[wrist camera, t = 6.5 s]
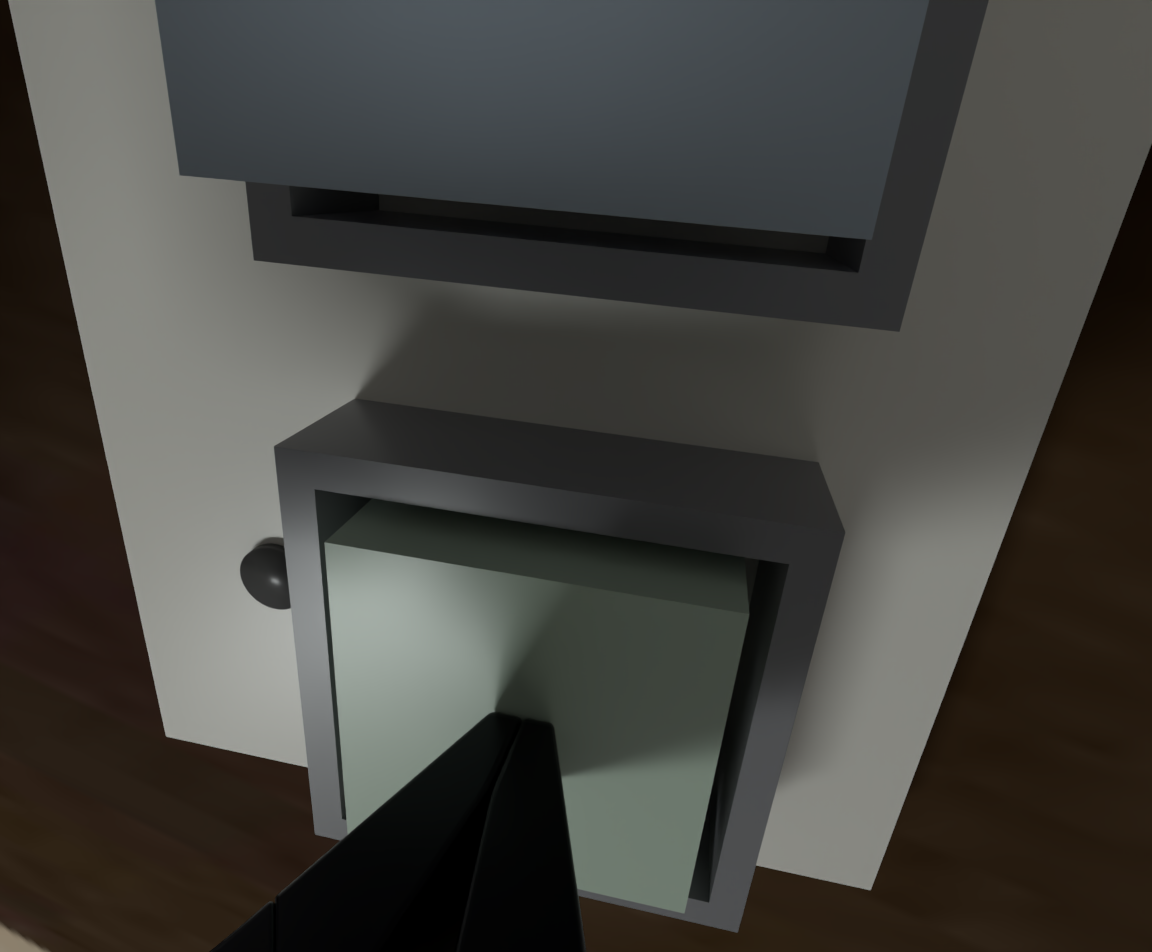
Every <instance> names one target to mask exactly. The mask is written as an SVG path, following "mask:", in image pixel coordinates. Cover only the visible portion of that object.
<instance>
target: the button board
mask: <svg viewBox="0 0 1152 952" xmlns="http://www.w3.org/2000/svg"><path fill="white" fill-rule="evenodd" d="M8 2H9V6H10V11H11V16H12V20H13V25H14V30H15V34H16V39H17V44H18V48H19V53H20V58H21V62H22V67H23V72H24V76H25V81H26V86H27V90H28V95H29V100H30V104H31V109H32V114H33V118H34V123H35V128H36V132H37V137H38V142H39V146H40V151H41V156H42V160H43V165H44V170H45V174H46V179H47V184H48V188H49V193H50V198H51V202H52V207H53V212H54V216H55V221H56V226H57V230H58V235H59V240H60V244H61V249H62V254H63V258H64V263H65V268H66V272H67V277H68V282H69V286H70V291H71V296H72V300H73V305H74V310H75V314H76V319H77V323H78V328H79V333H80V337H81V342H82V347H83V351H84V356H85V361H86V365H87V370H88V375H89V379H90V384H91V389H92V393H93V398H94V403H95V407H96V412H97V417H98V421H99V426H100V431H101V435H102V440H103V445H104V449H105V454H106V459H107V463H108V468H109V473H110V477H111V482H112V487H113V491H114V496H115V501H116V505H117V510H118V515H119V519H120V524H121V529H122V533H123V538H124V543H125V547H126V552H127V557H128V561H129V566H130V571H131V575H132V580H133V585H134V589H135V594H136V599H137V603H138V608H139V613H140V617H141V622H142V627H143V631H144V636H145V641H146V645H147V650H148V655H149V659H150V664H151V669H152V673H153V678H154V683H155V687H156V692H157V697H158V701H159V706H160V711H161V715H162V720H163V725H164V729H165V734H166V737H171V738H176V739H180V740H185V741H189V742H194V743H199V744H203V745H208V746H212V747H217V748H221V749H226V750H231V751H235V752H240V753H244V754H249V755H253V756H258V757H263V758H267V759H272V760H276V761H281V762H286V763H290V764H295V765H299V766H304V767H308V772H309V782H310V791H311V800H312V810H313V819H314V828H315V834H316V835H320V836H324V837H328V838H333V839H337V840H342V839H343V838H344V837H345V836H347V835H348V832H347V820H346V807H345V795H344V782H343V770H342V757H341V745H340V732H339V720H338V707H337V695H336V682H335V669H334V657H333V644H332V632H331V619H330V607H329V594H328V582H327V569H326V557H325V544H324V542H325V541H326V540H327V539H329V538H330V537H331V536H332V535H333V534H334V533H335V532H336V531H337V530H338V529H340V528H341V527H342V526H343V525H344V524H345V523H346V522H347V521H348V520H349V519H350V518H352V517H353V516H354V515H355V514H356V513H357V512H358V511H359V510H360V509H361V508H363V507H364V506H365V505H366V504H367V503H368V502H369V501H370V500H371V499H372V498H373V499H380V500H386V501H392V502H399V503H405V504H411V505H418V506H424V507H430V508H437V509H443V510H449V511H456V512H462V513H468V514H474V515H481V516H487V517H493V518H500V519H506V520H512V521H519V522H525V523H531V524H538V525H544V526H550V527H557V528H563V529H569V530H576V531H582V532H588V533H595V534H601V535H607V536H613V537H620V538H626V539H632V540H639V541H645V542H651V543H658V544H664V545H670V546H677V547H683V548H689V549H696V550H702V551H708V552H715V553H721V554H727V555H734V556H740V557H745V567H746V579H747V591H748V603H749V619H748V623H747V628H746V632H745V637H744V642H743V646H742V651H741V656H740V660H739V665H738V669H737V674H736V679H735V683H734V688H733V692H732V697H731V702H730V706H729V711H728V715H727V720H726V725H725V729H724V734H723V738H722V743H721V748H720V752H719V757H718V761H717V766H716V771H715V775H714V780H713V785H712V789H711V794H710V798H709V803H708V808H707V812H706V817H705V821H704V826H703V831H702V835H701V840H700V844H699V849H698V854H697V858H696V863H695V867H694V872H693V877H692V881H691V886H690V890H689V895H688V900H687V904H686V909H685V913H679V912H675V911H671V910H666V909H662V908H658V907H653V906H649V905H645V904H640V903H636V902H632V901H627V900H623V899H619V898H614V897H610V896H606V895H601V894H597V893H593V892H589V891H584V890H580V889H577V890H578V896H582V897H587V898H591V899H595V900H600V901H604V902H608V903H612V904H617V905H621V906H625V907H630V908H634V909H638V910H643V911H647V912H651V913H655V914H660V915H664V916H668V917H673V918H677V919H681V920H686V921H690V922H694V923H698V924H703V925H707V926H711V927H716V928H720V929H724V930H729V931H733V932H737V933H738V929H739V926H740V922H741V918H742V915H743V911H744V907H745V903H746V900H747V896H748V892H749V889H750V885H751V881H752V877H753V874H754V870H755V866H756V865H757V866H762V867H766V868H771V869H776V870H780V871H785V872H789V873H794V874H798V875H803V876H808V877H812V878H817V879H821V880H826V881H831V882H835V883H840V884H844V885H849V886H853V887H858V888H863V889H867V890H871V888H872V885H873V883H874V880H875V877H876V875H877V872H878V869H879V867H880V864H881V861H882V859H883V856H884V853H885V851H886V848H887V845H888V843H889V840H890V837H891V835H892V832H893V830H894V827H895V824H896V822H897V819H898V816H899V814H900V811H901V808H902V806H903V803H904V800H905V798H906V795H907V792H908V790H909V787H910V784H911V782H912V779H913V776H914V774H915V771H916V768H917V766H918V763H919V760H920V758H921V755H922V752H923V750H924V747H925V745H926V742H927V739H928V737H929V734H930V731H931V729H932V726H933V723H934V721H935V718H936V715H937V713H938V710H939V707H940V705H941V702H942V699H943V697H944V694H945V691H946V689H947V686H948V683H949V681H950V678H951V675H952V673H953V670H954V667H955V665H956V662H957V660H958V657H959V654H960V652H961V649H962V646H963V644H964V641H965V638H966V636H967V633H968V630H969V628H970V625H971V622H972V620H973V617H974V614H975V612H976V609H977V606H978V604H979V601H980V598H981V596H982V593H983V590H984V588H985V585H986V582H987V580H988V577H989V574H990V572H991V569H992V567H993V564H994V561H995V559H996V556H997V553H998V551H999V548H1000V545H1001V543H1002V540H1003V537H1004V535H1005V532H1006V529H1007V527H1008V524H1009V521H1010V519H1011V516H1012V513H1013V511H1014V508H1015V505H1016V503H1017V500H1018V497H1019V495H1020V492H1021V489H1022V487H1023V484H1024V482H1025V479H1026V476H1027V474H1028V471H1029V468H1030V466H1031V463H1032V460H1033V458H1034V455H1035V452H1036V450H1037V447H1038V444H1039V442H1040V439H1041V436H1042V434H1043V431H1044V428H1045V426H1046V423H1047V420H1048V418H1049V415H1050V412H1051V410H1052V407H1053V404H1054V402H1055V399H1056V397H1057V394H1058V391H1059V389H1060V386H1061V383H1062V381H1063V378H1064V375H1065V373H1066V370H1067V367H1068V365H1069V362H1070V359H1071V357H1072V354H1073V351H1074V349H1075V346H1076V343H1077V341H1078V338H1079V335H1080V333H1081V330H1082V327H1083V325H1084V322H1085V319H1086V317H1087V314H1088V311H1089V309H1090V306H1091V304H1092V301H1093V298H1094V296H1095V293H1096V290H1097V288H1098V285H1099V282H1100V280H1101V277H1102V274H1103V272H1104V269H1105V266H1106V264H1107V261H1108V258H1109V256H1110V253H1111V250H1112V248H1113V245H1114V242H1115V240H1116V237H1117V234H1118V232H1119V229H1120V226H1121V224H1122V221H1123V219H1124V216H1125V213H1126V211H1127V208H1128V205H1129V203H1130V200H1131V197H1132V195H1133V192H1134V189H1135V187H1136V184H1137V181H1138V179H1139V176H1140V173H1141V171H1142V168H1143V165H1144V163H1145V160H1146V157H1147V155H1148V152H1149V149H1150V147H1151V144H1152V0H929V3H928V8H927V12H926V16H925V20H924V24H923V28H922V33H921V37H920V41H919V45H918V49H917V53H916V58H915V62H914V66H913V70H912V74H911V78H910V83H909V87H908V91H907V95H906V99H905V103H904V108H903V112H902V116H901V120H900V124H899V128H898V133H897V137H896V141H895V145H894V149H893V153H892V158H891V162H890V166H889V170H888V174H887V178H886V183H885V187H884V191H883V195H882V199H881V203H880V208H879V212H878V216H877V220H876V224H875V228H874V233H873V237H872V240H866V239H855V238H845V237H834V236H823V235H813V234H802V233H791V232H781V231H770V230H759V229H749V228H738V227H727V226H716V225H706V224H695V223H684V222H674V221H663V220H652V219H642V218H631V217H620V216H609V215H599V214H588V213H577V212H567V211H556V210H545V209H535V208H524V207H513V206H503V205H492V204H481V203H470V202H460V201H449V200H438V199H428V198H417V197H406V196H396V195H385V194H374V193H363V192H353V191H342V190H331V189H321V188H310V187H299V186H289V185H278V184H267V183H256V182H246V181H235V180H224V179H214V178H203V177H192V176H182V175H180V174H179V167H178V160H177V153H176V146H175V139H174V132H173V125H172V118H171V111H170V104H169V97H168V90H167V82H166V75H165V68H164V61H163V54H162V47H161V40H160V33H159V26H158V19H157V12H156V5H155V0H8Z"/></svg>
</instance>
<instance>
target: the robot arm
mask: <svg viewBox="0 0 1152 952" xmlns="http://www.w3.org/2000/svg"><path fill="white" fill-rule="evenodd" d="M210 952H586V947H585V940H584V932H583V925H582V918H581V911H580V904H579V897H578V890H577V883H576V876H575V869H574V862H573V855H572V848H571V841H570V834H569V827H568V820H567V813H566V806H565V798H564V791H563V784H562V777H561V770H560V763H559V756H558V749H557V742H556V735H555V728H554V726H553V724H552V723H549V722H545V721H540V720H535V719H530V718H526V719H524V720H523V721H521V719H520V718H519V717H518V716H514V715H509V714H504V713H499V712H491V713H489V714H488V715H486V716H485V717H484V718H483V719H482V720H480V721H479V722H478V723H477V724H476V725H475V726H473V727H472V728H471V729H470V730H469V731H468V732H466V733H465V734H464V735H463V736H462V737H461V738H459V739H458V740H457V741H456V742H455V743H454V744H453V745H451V746H450V747H449V748H448V749H447V750H446V751H444V752H443V753H442V754H441V755H440V756H439V757H437V758H436V759H435V760H434V761H433V762H432V763H430V764H429V765H428V766H427V767H426V768H425V769H423V770H422V771H421V772H420V773H419V774H418V775H416V776H415V777H414V778H413V779H412V780H411V781H409V782H408V783H407V784H406V785H405V786H404V787H402V788H401V789H400V790H399V791H398V792H397V793H395V794H394V795H393V796H392V797H391V798H390V799H388V800H387V801H386V802H385V803H384V804H383V805H381V806H380V807H379V808H378V809H377V810H376V811H374V812H373V813H372V814H371V815H370V816H369V817H368V818H366V819H365V820H364V821H363V822H362V823H361V824H359V825H358V826H357V827H356V828H355V829H354V830H352V831H351V832H350V833H349V834H348V835H347V836H345V837H344V838H343V839H342V840H341V841H340V842H338V843H337V844H336V845H335V846H334V847H333V848H331V849H330V850H329V851H328V852H327V853H326V854H324V855H323V856H322V857H321V858H320V859H319V860H317V861H316V862H315V863H314V864H313V865H312V866H310V867H309V868H308V869H307V870H306V871H305V872H303V873H302V874H301V875H300V876H299V877H298V878H296V879H295V880H294V881H293V882H292V883H291V884H289V885H288V886H287V887H286V888H285V889H284V890H283V891H281V892H280V893H279V894H278V895H277V896H276V897H275V904H274V903H273V902H268V903H267V904H266V905H265V906H263V907H262V908H261V909H260V910H259V911H258V912H256V913H255V914H254V915H253V916H252V917H251V918H249V919H248V920H247V921H246V922H245V923H244V924H242V925H241V926H240V927H239V928H238V929H237V930H235V931H234V932H233V933H232V934H230V935H229V936H228V937H227V938H226V939H224V940H223V941H222V942H221V943H219V944H218V945H217V946H216V947H215V948H213V949H212V950H211V951H210Z"/></svg>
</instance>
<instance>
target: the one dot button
mask: <svg viewBox="0 0 1152 952" xmlns="http://www.w3.org/2000/svg"><path fill="white" fill-rule="evenodd" d="M324 544H325V557H326V569H327V582H328V594H329V607H330V619H331V632H332V644H333V657H334V669H335V682H336V695H337V707H338V720H339V732H340V745H341V757H342V770H343V782H344V795H345V807H346V820H347V832H348V834H349V833H350V832H351V831H352V830H354V829H355V828H356V827H357V826H358V825H359V824H361V823H362V822H363V821H364V820H365V819H366V818H368V817H369V816H370V815H371V814H372V813H373V812H374V811H376V810H377V809H378V808H379V807H380V806H381V805H383V804H384V803H385V802H386V801H387V800H388V799H390V798H391V797H392V796H393V795H394V794H395V793H397V792H398V791H399V790H400V789H401V788H402V787H404V786H405V785H406V784H407V783H408V782H409V781H411V780H412V779H413V778H414V777H415V776H416V775H418V774H419V773H420V772H421V771H422V770H423V769H425V768H426V767H427V766H428V765H429V764H430V763H432V762H433V761H434V760H435V759H436V758H437V757H439V756H440V755H441V754H442V753H443V752H444V751H446V750H447V749H448V748H449V747H450V746H451V745H453V744H454V743H455V742H456V741H457V740H458V739H459V738H461V737H462V736H463V735H464V734H465V733H466V732H468V731H469V730H470V729H471V728H472V727H473V726H475V725H476V724H477V723H478V722H479V721H480V720H482V719H483V718H484V717H485V716H486V715H488V714H489V713H491V712H499V713H504V714H509V715H514V716H518V717H519V718H520V719H521V721H523V720H524V719H526V718H530V719H535V720H540V721H545V722H549V723H552V724H553V726H554V728H555V735H556V742H557V749H558V756H559V763H560V770H561V777H562V784H563V791H564V798H565V806H566V813H567V820H568V827H569V834H570V841H571V848H572V855H573V862H574V869H575V876H576V883H577V889H580V890H584V891H589V892H593V893H597V894H601V895H606V896H610V897H614V898H619V899H623V900H627V901H632V902H636V903H640V904H645V905H649V906H653V907H658V908H662V909H666V910H671V911H675V912H679V913H685V909H686V904H687V900H688V895H689V890H690V886H691V881H692V877H693V872H694V867H695V863H696V858H697V854H698V849H699V844H700V840H701V835H702V831H703V826H704V821H705V817H706V812H707V808H708V803H709V798H710V794H711V789H712V785H713V780H714V775H715V771H716V766H717V761H718V757H719V752H720V748H721V743H722V738H723V734H724V729H725V725H726V720H727V715H728V711H729V706H730V702H731V697H732V692H733V688H734V683H735V679H736V674H737V669H738V665H739V660H740V656H741V651H742V646H743V642H744V637H745V632H746V628H747V623H748V619H749V603H748V591H747V579H746V567H745V557H740V556H734V555H727V554H721V553H715V552H708V551H702V550H696V549H689V548H683V547H677V546H670V545H664V544H658V543H651V542H645V541H639V540H632V539H626V538H620V537H613V536H607V535H601V534H595V533H588V532H582V531H576V530H569V529H563V528H557V527H550V526H544V525H538V524H531V523H525V522H519V521H512V520H506V519H500V518H493V517H487V516H481V515H474V514H468V513H462V512H456V511H449V510H443V509H437V508H430V507H424V506H418V505H411V504H405V503H399V502H392V501H386V500H380V499H373V498H372V499H371V500H370V501H369V502H368V503H367V504H366V505H365V506H364V507H363V508H361V509H360V510H359V511H358V512H357V513H356V514H355V515H354V516H353V517H352V518H350V519H349V520H348V521H347V522H346V523H345V524H344V525H343V526H342V527H341V528H340V529H338V530H337V531H336V532H335V533H334V534H333V535H332V536H331V537H330V538H329V539H327V540H326V541H325V542H324Z"/></svg>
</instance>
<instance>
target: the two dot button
mask: <svg viewBox="0 0 1152 952" xmlns="http://www.w3.org/2000/svg"><path fill="white" fill-rule="evenodd" d="M928 3H929V0H155V5H156V12H157V19H158V26H159V33H160V40H161V47H162V54H163V61H164V68H165V75H166V82H167V90H168V97H169V104H170V111H171V118H172V125H173V132H174V139H175V146H176V153H177V160H178V167H179V174H180V175H182V176H192V177H203V178H214V179H224V180H235V181H246V182H256V183H267V184H278V185H289V186H299V187H310V188H321V189H331V190H342V191H353V192H363V193H374V194H385V195H396V196H406V197H417V198H428V199H438V200H449V201H460V202H470V203H481V204H492V205H503V206H513V207H524V208H535V209H545V210H556V211H567V212H577V213H588V214H599V215H609V216H620V217H631V218H642V219H652V220H663V221H674V222H684V223H695V224H706V225H716V226H727V227H738V228H749V229H759V230H770V231H781V232H791V233H802V234H813V235H823V236H834V237H845V238H855V239H866V240H872V237H873V233H874V228H875V224H876V220H877V216H878V212H879V208H880V203H881V199H882V195H883V191H884V187H885V183H886V178H887V174H888V170H889V166H890V162H891V158H892V153H893V149H894V145H895V141H896V137H897V133H898V128H899V124H900V120H901V116H902V112H903V108H904V103H905V99H906V95H907V91H908V87H909V83H910V78H911V74H912V70H913V66H914V62H915V58H916V53H917V49H918V45H919V41H920V37H921V33H922V28H923V24H924V20H925V16H926V12H927V8H928Z"/></svg>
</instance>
